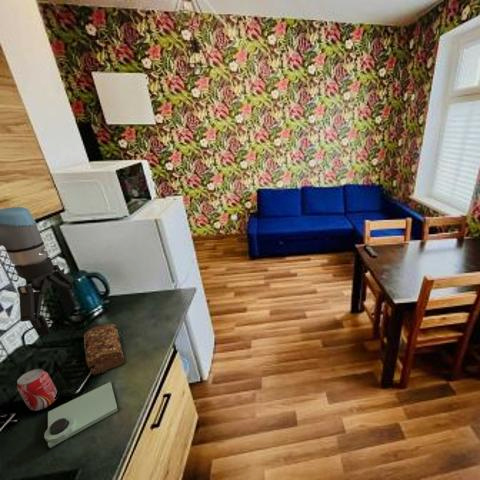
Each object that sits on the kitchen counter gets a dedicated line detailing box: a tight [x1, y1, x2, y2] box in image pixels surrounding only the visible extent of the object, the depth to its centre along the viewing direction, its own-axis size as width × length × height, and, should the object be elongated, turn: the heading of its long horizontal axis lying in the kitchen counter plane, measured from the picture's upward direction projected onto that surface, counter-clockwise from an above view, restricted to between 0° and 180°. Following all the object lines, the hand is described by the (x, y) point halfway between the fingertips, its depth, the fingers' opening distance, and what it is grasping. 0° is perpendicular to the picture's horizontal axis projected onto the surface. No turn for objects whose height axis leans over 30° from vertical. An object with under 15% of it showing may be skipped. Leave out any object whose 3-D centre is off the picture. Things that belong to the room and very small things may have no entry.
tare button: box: [50, 418, 68, 435], centre depth 77 cm, size 4×4×2 cm
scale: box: [43, 381, 119, 449], centre depth 84 cm, size 16×14×3 cm
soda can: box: [16, 368, 58, 412], centre depth 85 cm, size 7×7×12 cm
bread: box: [83, 323, 126, 376], centre depth 104 cm, size 19×11×10 cm, turn 40°
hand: (59, 319), depth 85 cm, fingers open, 13 cm apart
